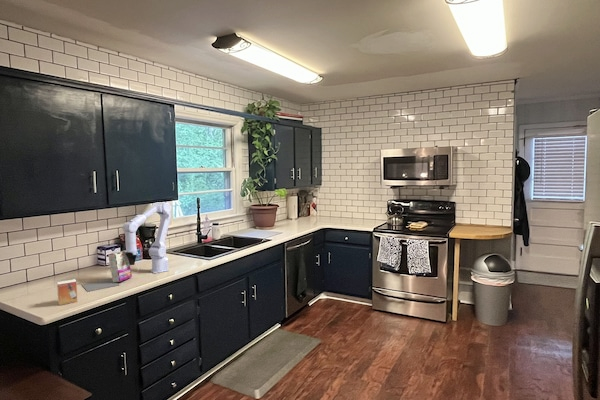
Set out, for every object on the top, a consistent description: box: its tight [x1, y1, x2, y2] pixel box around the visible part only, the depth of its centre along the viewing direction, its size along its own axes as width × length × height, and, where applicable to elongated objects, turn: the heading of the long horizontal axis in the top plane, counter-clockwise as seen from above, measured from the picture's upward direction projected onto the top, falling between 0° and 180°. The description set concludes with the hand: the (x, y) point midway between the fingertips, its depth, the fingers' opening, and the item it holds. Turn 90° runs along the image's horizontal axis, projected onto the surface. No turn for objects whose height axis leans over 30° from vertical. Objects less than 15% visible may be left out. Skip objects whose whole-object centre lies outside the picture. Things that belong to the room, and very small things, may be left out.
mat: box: [81, 278, 120, 293], centre depth 212 cm, size 16×16×1 cm
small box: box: [56, 278, 78, 306], centre depth 185 cm, size 8×6×10 cm
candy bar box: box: [108, 250, 133, 283], centre depth 219 cm, size 11×5×16 cm, turn 168°
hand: (132, 264), depth 222 cm, fingers closed
